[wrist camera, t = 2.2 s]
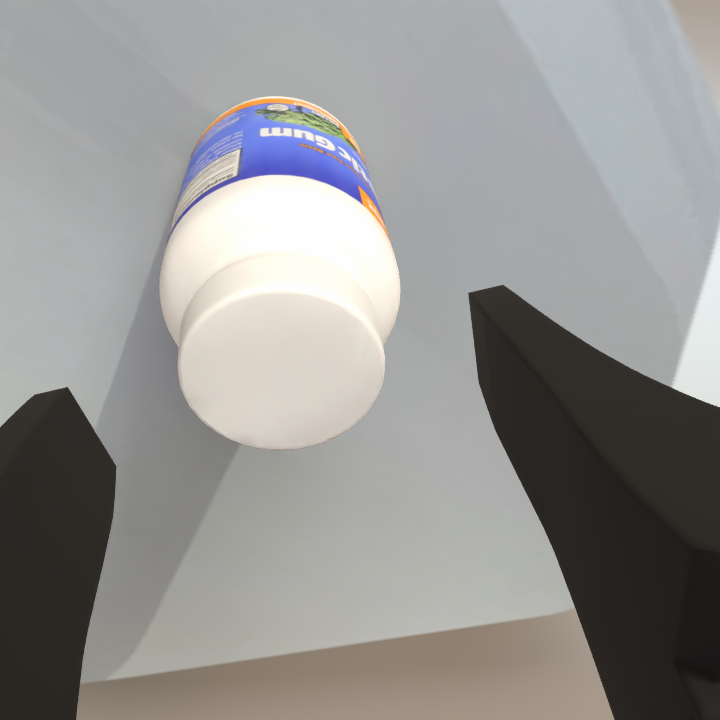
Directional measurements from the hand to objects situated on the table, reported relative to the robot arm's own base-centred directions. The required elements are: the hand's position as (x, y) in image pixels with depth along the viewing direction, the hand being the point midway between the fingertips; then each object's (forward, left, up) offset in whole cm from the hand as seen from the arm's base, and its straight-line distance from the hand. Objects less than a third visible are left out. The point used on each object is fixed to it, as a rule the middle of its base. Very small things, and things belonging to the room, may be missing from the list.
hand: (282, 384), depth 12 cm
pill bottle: (0, 0, -11) cm, 11 cm away
